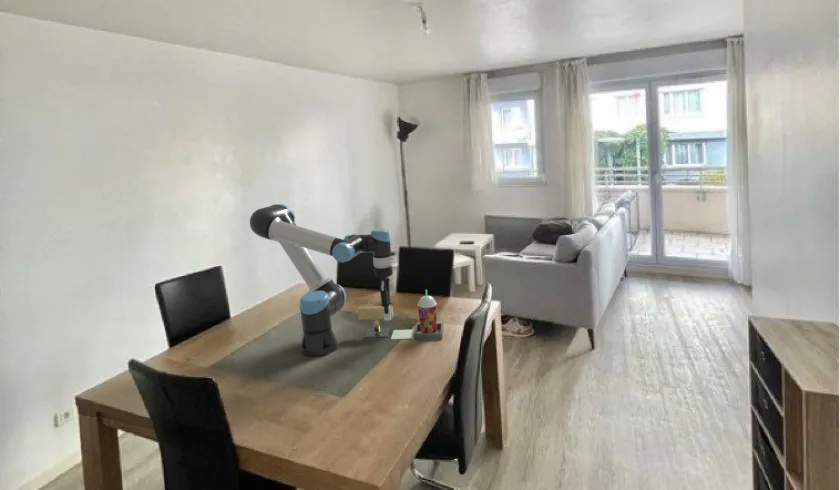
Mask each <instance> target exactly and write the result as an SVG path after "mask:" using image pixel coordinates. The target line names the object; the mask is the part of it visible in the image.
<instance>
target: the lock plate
mask: <svg viewBox="0 0 840 490" xmlns="http://www.w3.org/2000/svg"><path fill="white" fill-rule="evenodd" d="M390 330H391V327H380V331H379V332H375V331H374V327H371V328H367V330H366V333H365V335H364V337H363V339H383V338H384V339H385V338H386V339H387V338H388V336H389V333H390Z"/></svg>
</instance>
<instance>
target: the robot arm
mask: <svg viewBox="0 0 840 490" xmlns="http://www.w3.org/2000/svg"><path fill="white" fill-rule="evenodd" d="M295 218H296V216H295V213H294V211H293V210H292V209H291V208H290V207H289V206H288V205H286V204H282V203H281V204H280V203H279V204H277V203H276V204H271V205H269V206H265V207H260V208H259V209H258V208H257V209H256V210H255V211H254V212H252V214H251V216H250V219H249V227H250V230H252V232H253V233H254V234H255V235H256V236H258V237H260V238H264V239H266V240H270V241H274V242H277V243H279V245H280V246H281V248H282V249H283V251H284V252H285V253H286V255H287V257H288V259H290V261H291V262H292V264H293V265H294V267H295V269H296V270H297V271H298V273H299V275H300V276H301V277H302V279H303V281H304V282H305V284H306V285H307V287H308V289H309V290H308V292H307V293H305V294H303V295H302V296H301V297H300V300H299V310H300V318H301V326H302V327H301V328H302V337H301V342H300V353H301V354H303V355H304V356H308V357H319V356H325V355H328V354H330V353H333V352H335V351H336V350H337V349H338V347H339V346H338V344H339V343H338V339H337V337H336V335H335V333H334V331H333V328H332V319H331V317H333V316H334V315H335V314H337V313H338V312H339V311H341V310H342V308H344V306H345V304H346V302H347V293H346V290H345V289H344V287H343V286H341V285H340V284H337V283H335V282H334V280H333V279H332V278H330V277H327V276H326V274H325V273H324V272H323V269H321V267H320V266H319V264H318V263H317V261H316V259H315V258H314V257H313V255H312V253H311V252H310V250H311V251H314V252H317V253H321V254H324V255H328V256H329V257H330V256H331V257H333V258H334V260H335V261H336V262H338V263H346V262H349V261H351V260H352V259H353V258H355V257H357V256H359V254H361V253H363V254H364V253H372V259H373V262H372V263H373V267H374V269H373V271H374V276H375V277H376V278H379V280H378V285H379V287H378V288H379V293H380V300H381V305H380V306H383V311H384V319H383V320H384V321H386V322H387V321H391V320H392V319H391V312H390V306H391V305H392V301H391V290H390V289H391V287H390V283H391V282H390V281H391V280H390V277H391V276H392V275H393V266H392V264H393V263H392V261H393V260H394V258H393V257H392V251H391V249H392V247H391V238H390V237H391V236H390V232H389V229H387V228H374V229H372V230H371V231H370V233H369V234H354V233H353V234H347V235H345V236H344V238H343V239H342V238H339V237H336V236H333V235H329V234H326V233H322V232H319V231H316V230H313V229H308V228H306V227H303V226H300V225H297V224H296V223H295V222H296V220H295Z"/></svg>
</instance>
